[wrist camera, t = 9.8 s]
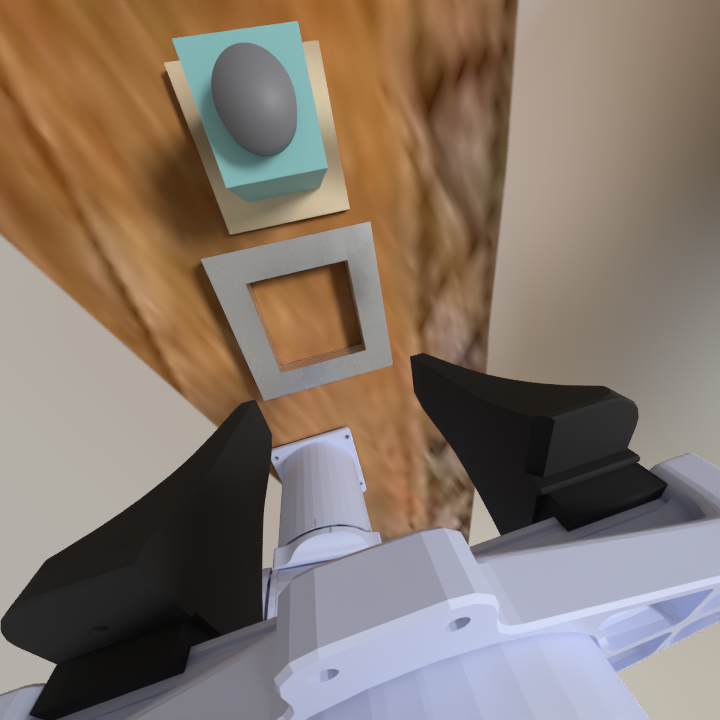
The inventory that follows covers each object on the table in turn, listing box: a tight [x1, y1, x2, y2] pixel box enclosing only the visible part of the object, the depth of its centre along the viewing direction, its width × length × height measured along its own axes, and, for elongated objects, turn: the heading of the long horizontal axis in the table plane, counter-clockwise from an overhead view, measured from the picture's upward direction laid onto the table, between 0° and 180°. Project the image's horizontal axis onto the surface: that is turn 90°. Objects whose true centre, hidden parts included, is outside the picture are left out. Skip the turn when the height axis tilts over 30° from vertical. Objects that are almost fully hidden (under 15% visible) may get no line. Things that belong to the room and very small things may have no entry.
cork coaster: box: [164, 40, 350, 235], centre depth 16 cm, size 8×8×1 cm
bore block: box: [201, 222, 393, 401], centre depth 20 cm, size 11×11×2 cm
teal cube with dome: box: [172, 21, 328, 202], centre depth 13 cm, size 5×5×6 cm
